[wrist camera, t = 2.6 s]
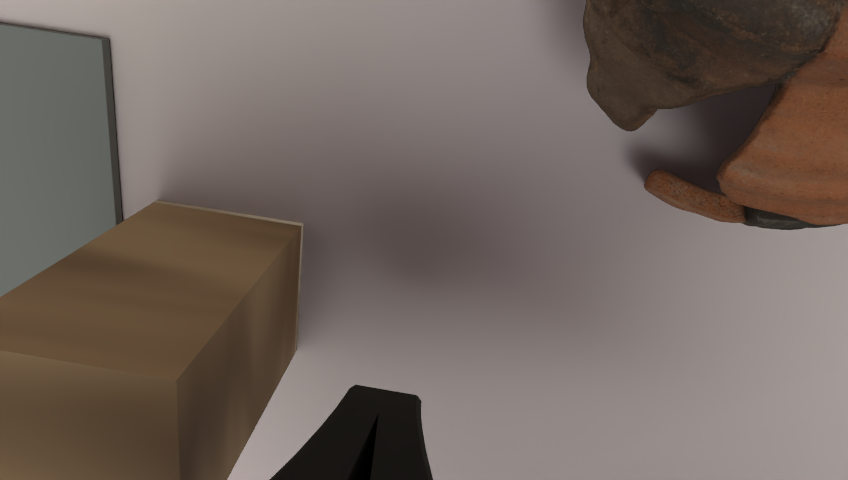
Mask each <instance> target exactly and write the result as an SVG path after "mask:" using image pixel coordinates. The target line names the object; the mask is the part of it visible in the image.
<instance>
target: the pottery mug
mask: <svg viewBox="0 0 848 480" xmlns="http://www.w3.org/2000/svg"><path fill="white" fill-rule="evenodd" d="M583 28H584V34H585V39H586V43H587V45H588V48H589V52H590V59H591V60H590V65H589V70H588V74H587V89H588V92H589V94H590V95H591V97H592V98H593V100H594V101H595V102H596V103H597V104H598V105H599V106H600V108H601V109H602V110H603V111H604V112H605V113H606V115H607V116H608V117H609V118H610V119H611V120H612V122H613V123H614V124H616V125H617V126H618V127H620V128H622V129H624V130H626V131H635V130H637V129H638V128H639V127H641V126H642V125H643V124H644V123H645V122H646V121H647V120H648V119H649V118H650V117H651V116H653V115H654V113H655V112H656V111H657V109H672V108H678V107H683V106H687V105H690V104H692V103H695V102H697V101H700V100H703V99H705V98H708V97H710V96H714V95H719V94H725V93H728V92H734V91H739V90H742V89H746V88H750V87H757V86H763V85H768V84H776V88H775V91H774V94H773V96H772V99H771V101H770V102H769V104H768V106H767V108H766V109H765V111H764V113H763V114H762V116H761V118H760V120H759V121H758V123H757V125H756V127H755V128H754V129H753V131H752V132H751V134H750V135H749V137H748V138H747V139H746V141H745V142H744V143H743V144H742V145H741V146H740V147H739V148H738V149H737V150H735V151H734V152H733V153H732V154H731V155H730V156H729V157H728V158H727V159H726V160H725V161H724V162H723V163H722V165H721V166H720V168H719V170H718V172H717V175H716V177H717V180H718V181H719V185H720V188H721V191H722V192H723V193H724V194H721V193H717V192H713V191H710V190H707V189H704V188H702V187H699V186H697V185H695V184H692V183H690V182H687V181H685V180H683V179H681V178H679V177H677V176H675V175H672V174H670V173H668V172H666V171H662V170H655V171H653V172H652V173H651V174H650V175H649V177H648V178H647V180H646V182H645V183H644V187H645V189H646V190H647V191H648V192H650V193H651V194H653V195H654V196H656V197H658V198H659V199H661V200H662V201H664V202H666V203H668V204H670V205H672V206H674V207H676V208H679V209H681V210H685V211H689V212H693V213H696V214H699V215H702V216H705V217H708V218H711V219H714V220H717V221H721V222H731V223H743V224H745V225H748V226H757V227H761V228H770V229H780V230H794V229H803V228H820V227H828V226H836V225H841V224H847V223H848V0H586V7H585V12H584V17H583Z"/></svg>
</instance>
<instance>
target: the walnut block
mask: <svg viewBox="0 0 848 480" xmlns="http://www.w3.org/2000/svg"><path fill="white" fill-rule="evenodd" d="M303 225H304V223H298V222H292V221H286V220H280V219H273V218H267V217H261V216H254V215H248V214H242V213H236V212H229V211H223V210H217V209H211V208H204V207H198V206H192V205H186V204H179V203H173V202H167V201H160V200H157V201H155V202H154V203H152V204H150V205H149V206H147V207H145V208H144V209H142V210H141V211H139V212H137V213H136V214H134V215H133V216H131V217H129V218H128V219H126V220H124V221H123V222H121V223H120V224H118V225H116V226H115V227H113V228H111V229H110V230H108V231H107V232H105V233H103V234H102V235H100V236H98V237H97V238H95V239H94V240H92V241H90V242H89V243H87V244H86V245H84V246H82V247H81V248H79V249H77V250H76V251H74V252H73V253H71V254H69V255H68V256H66V257H64V258H63V259H61V260H60V261H58V262H56V263H55V264H53V265H52V266H50V267H48V268H47V269H45V270H43V271H42V272H40V273H39V274H37V275H35V276H34V277H32V278H30V279H29V280H27V281H26V282H24V283H22V284H21V285H19V286H18V287H16V288H14V289H13V290H11V291H9V292H8V293H6V294H5V295H3V296H1V297H0V480H227V478H228V477H229V475H230V473H231V471H232V469H233V467H234V465H235V464H236V462H237V460H238V458H239V456H240V454H241V452H242V451H243V449H244V447H245V445H246V443H247V441H248V439H249V438H250V436H251V434H252V432H253V430H254V428H255V426H256V425H257V423H258V421H259V419H260V417H261V415H262V413H263V412H264V410H265V408H266V406H267V404H268V402H269V400H270V399H271V397H272V395H273V393H274V391H275V389H276V387H277V386H278V384H279V382H280V380H281V378H282V376H283V374H284V373H285V371H286V369H287V367H288V365H289V363H290V361H291V360H292V358H293V356H294V354H295V352H296V350H297V335H298V316H299V298H300V280H301V262H302V244H303Z"/></svg>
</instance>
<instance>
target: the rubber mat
mask: <svg viewBox="0 0 848 480" xmlns="http://www.w3.org/2000/svg"><path fill="white" fill-rule="evenodd" d="M121 222H122V209H121V196H120V182H119V168H118V155H117V141H116V127H115V114H114V100H113V87H112V73H111V59H110V46H109V39H106V38H99V37H92V36H86V35H79V34H72V33H66V32H59V31H52V30H45V29H39V28H32V27H25V26H18V25H12V24H5V23H0V297H1V296H3V295H5V294H6V293H8V292H9V291H11V290H13V289H14V288H16V287H18V286H19V285H21V284H22V283H24V282H26V281H27V280H29V279H30V278H32V277H34V276H35V275H37V274H39V273H40V272H42V271H43V270H45V269H47V268H48V267H50V266H52V265H53V264H55V263H56V262H58V261H60V260H61V259H63V258H64V257H66V256H68V255H69V254H71V253H73V252H74V251H76V250H77V249H79V248H81V247H82V246H84V245H86V244H87V243H89V242H90V241H92V240H94V239H95V238H97V237H98V236H100V235H102V234H103V233H105V232H107V231H108V230H110V229H111V228H113V227H115V226H116V225H118V224H120V223H121Z"/></svg>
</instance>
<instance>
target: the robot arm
mask: <svg viewBox="0 0 848 480" xmlns="http://www.w3.org/2000/svg"><path fill="white" fill-rule="evenodd" d="M270 480H433V478H432V474H431V470H430V466H429V462H428V458H427V453H426V448H425V443H424V437H423V430H422V422H421V400H420V399H419V398H418V396H417V395H412V394H406V393H400V392H394V391H389V390H383V389H377V388H371V387H366V386H360V385H355V386H353V387H351V388H350V389H349V390H348V392H347V393H346V395H345V396H344V398H343V399H342V400H341V402H340V403H339V404H338V406H337V407H336V408H335V410H334V411H333V412H332V414H331V415H330V416H329V417H328V418H327V420H326V421H325V422H324V423H323V424H322V426H321V427H320V428H319V429H318V430H317V431H316V432H315V434H314V435H313V436H312V437H311V438H310V439H309V440H308V441H307V442H306V444H305V445H304V446H303V447H302V448H301V449H300V450H299V451H298V452H297V453H296V454H295V455H294V456H293V458H291V459H290V460H289V461H288V462H287V463H286V464H285V465H284V466H283V467H282V468H281V469H280V470H279V471H278V472H277V473H276V474H275V475H274V476H273V477H272V478H271V479H270Z"/></svg>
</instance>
